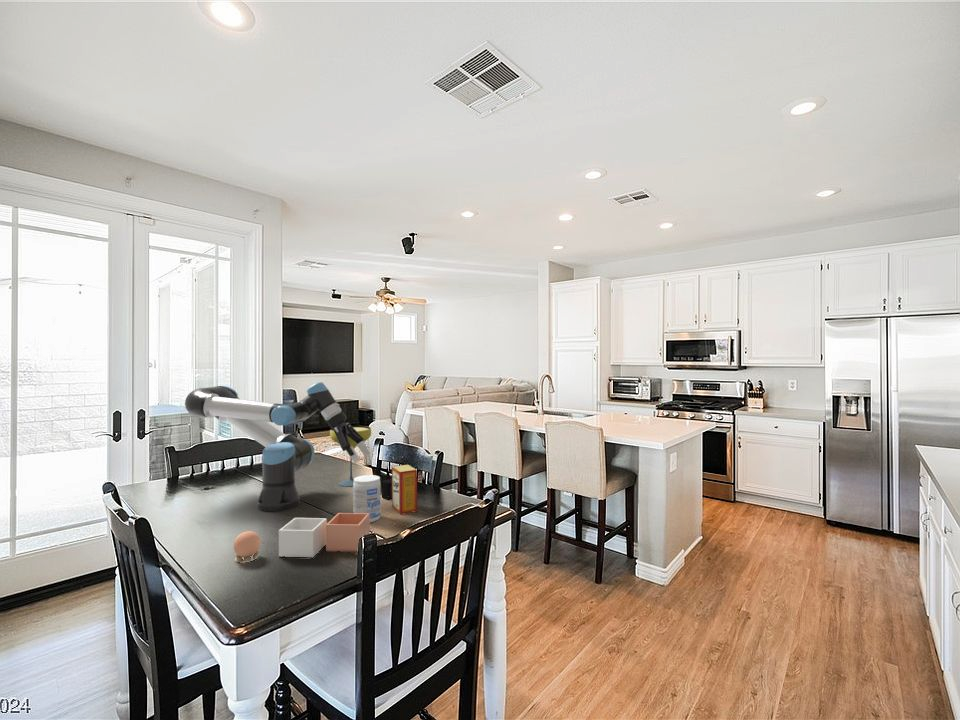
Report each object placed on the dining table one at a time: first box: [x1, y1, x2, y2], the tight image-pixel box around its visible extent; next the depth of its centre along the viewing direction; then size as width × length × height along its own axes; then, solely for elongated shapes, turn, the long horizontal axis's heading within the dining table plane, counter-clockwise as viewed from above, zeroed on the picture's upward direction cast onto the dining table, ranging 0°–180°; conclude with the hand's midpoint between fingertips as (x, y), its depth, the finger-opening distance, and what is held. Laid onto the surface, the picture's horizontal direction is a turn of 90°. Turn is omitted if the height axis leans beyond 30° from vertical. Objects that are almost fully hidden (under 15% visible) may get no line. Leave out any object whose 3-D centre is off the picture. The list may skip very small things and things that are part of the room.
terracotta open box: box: [325, 512, 371, 553], centre depth 142 cm, size 10×10×8 cm
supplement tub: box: [352, 474, 382, 523], centre depth 164 cm, size 10×10×15 cm
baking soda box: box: [391, 464, 418, 515], centre depth 175 cm, size 10×6×16 cm
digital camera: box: [381, 478, 392, 501], centre depth 190 cm, size 10×5×7 cm, turn 143°
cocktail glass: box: [329, 425, 372, 488], centre depth 209 cm, size 18×18×25 cm
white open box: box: [278, 517, 328, 559], centre depth 138 cm, size 10×10×8 cm
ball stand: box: [234, 550, 259, 564], centre depth 133 cm, size 6×6×1 cm
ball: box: [233, 530, 262, 557], centre depth 133 cm, size 7×7×7 cm
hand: (363, 458), depth 190 cm, fingers open, 13 cm apart
